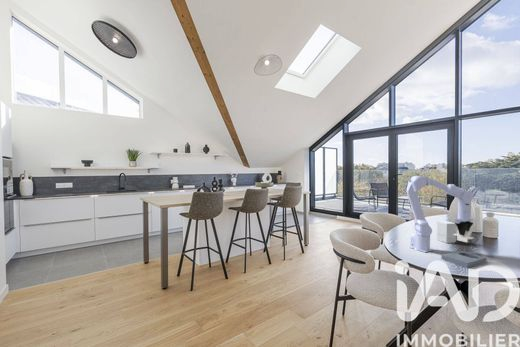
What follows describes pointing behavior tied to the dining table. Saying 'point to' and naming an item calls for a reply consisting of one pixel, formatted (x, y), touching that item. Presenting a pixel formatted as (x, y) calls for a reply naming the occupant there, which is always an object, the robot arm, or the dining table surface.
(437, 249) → the dining table surface
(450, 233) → the supplement box
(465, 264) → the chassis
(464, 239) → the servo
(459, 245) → the dining table surface
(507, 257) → the dining table surface
